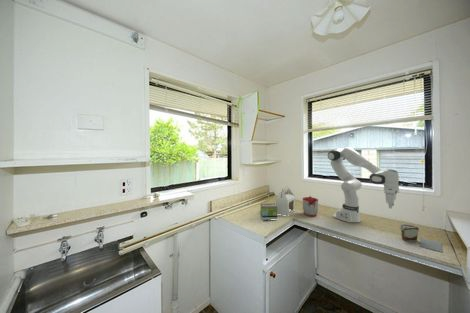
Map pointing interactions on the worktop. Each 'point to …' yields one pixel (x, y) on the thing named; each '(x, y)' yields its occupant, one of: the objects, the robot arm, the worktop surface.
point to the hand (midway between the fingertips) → (391, 206)
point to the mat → (431, 245)
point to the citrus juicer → (310, 206)
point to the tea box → (268, 211)
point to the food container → (409, 232)
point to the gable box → (285, 202)
